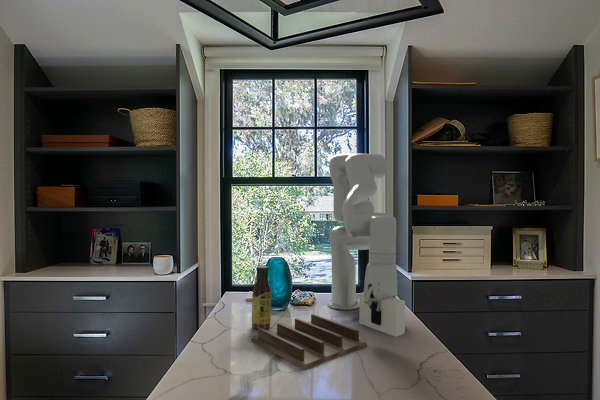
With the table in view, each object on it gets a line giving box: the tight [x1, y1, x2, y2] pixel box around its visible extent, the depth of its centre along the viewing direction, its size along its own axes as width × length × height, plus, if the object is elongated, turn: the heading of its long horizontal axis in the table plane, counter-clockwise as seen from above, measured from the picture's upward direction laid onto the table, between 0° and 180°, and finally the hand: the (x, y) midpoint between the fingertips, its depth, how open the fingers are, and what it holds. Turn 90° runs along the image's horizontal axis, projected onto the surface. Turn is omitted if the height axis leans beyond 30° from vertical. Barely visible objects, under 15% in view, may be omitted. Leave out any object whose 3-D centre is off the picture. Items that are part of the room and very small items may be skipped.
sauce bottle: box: [251, 265, 272, 330], centre depth 123 cm, size 6×6×20 cm
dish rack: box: [250, 313, 368, 370], centre depth 110 cm, size 24×24×4 cm
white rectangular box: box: [358, 291, 406, 338], centre depth 107 cm, size 4×13×9 cm, turn 40°
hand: (381, 321), depth 107 cm, fingers closed on white rectangular box, 4 cm apart
